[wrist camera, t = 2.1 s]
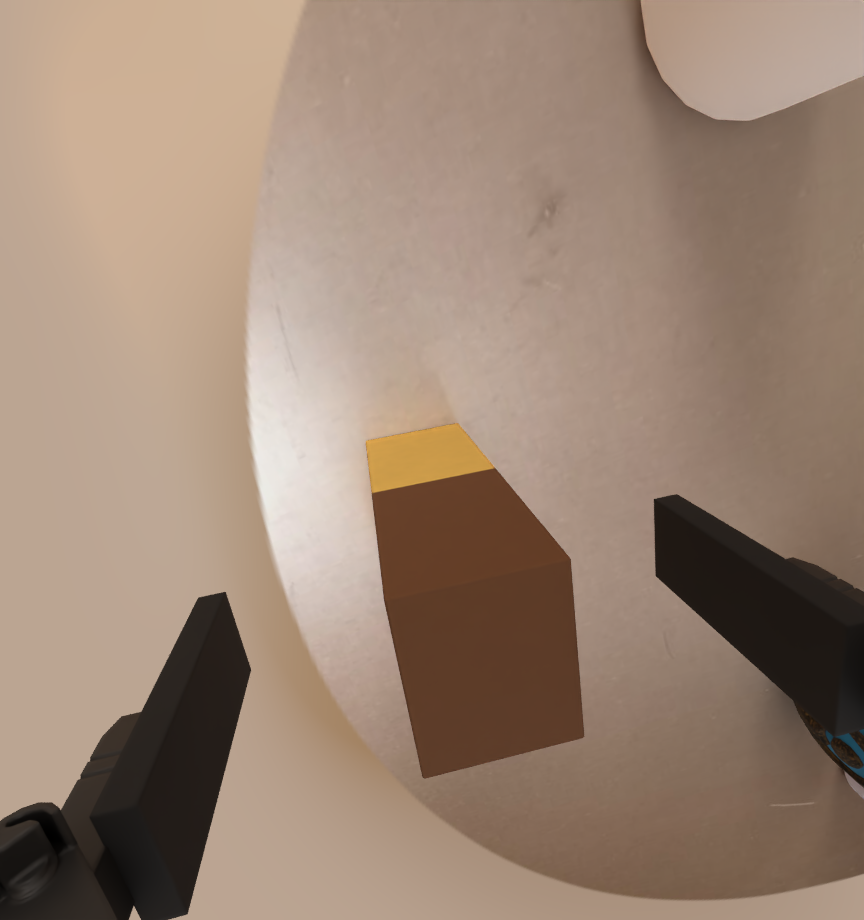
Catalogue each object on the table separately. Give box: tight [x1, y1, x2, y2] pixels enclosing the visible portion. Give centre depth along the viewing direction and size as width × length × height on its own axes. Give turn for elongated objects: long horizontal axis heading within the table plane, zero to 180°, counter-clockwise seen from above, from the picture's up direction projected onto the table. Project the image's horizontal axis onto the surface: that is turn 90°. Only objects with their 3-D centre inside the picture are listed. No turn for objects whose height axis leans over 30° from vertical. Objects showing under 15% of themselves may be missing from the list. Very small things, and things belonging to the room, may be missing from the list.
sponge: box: [366, 423, 584, 778], centre depth 17 cm, size 4×5×12 cm
